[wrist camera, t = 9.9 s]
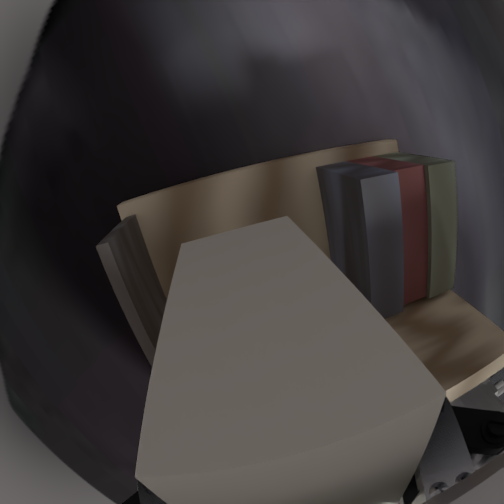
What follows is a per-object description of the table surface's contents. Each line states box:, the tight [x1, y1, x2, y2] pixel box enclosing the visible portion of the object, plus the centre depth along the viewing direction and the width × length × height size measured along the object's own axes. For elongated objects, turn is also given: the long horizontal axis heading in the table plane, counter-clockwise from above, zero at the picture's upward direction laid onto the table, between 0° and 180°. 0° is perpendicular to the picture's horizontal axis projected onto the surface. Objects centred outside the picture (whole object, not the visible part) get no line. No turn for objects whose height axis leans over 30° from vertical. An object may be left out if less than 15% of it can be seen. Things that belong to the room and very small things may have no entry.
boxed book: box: [135, 216, 447, 504], centre depth 9 cm, size 4×8×10 cm, turn 13°
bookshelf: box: [96, 139, 504, 402], centre depth 17 cm, size 22×12×16 cm, turn 103°
